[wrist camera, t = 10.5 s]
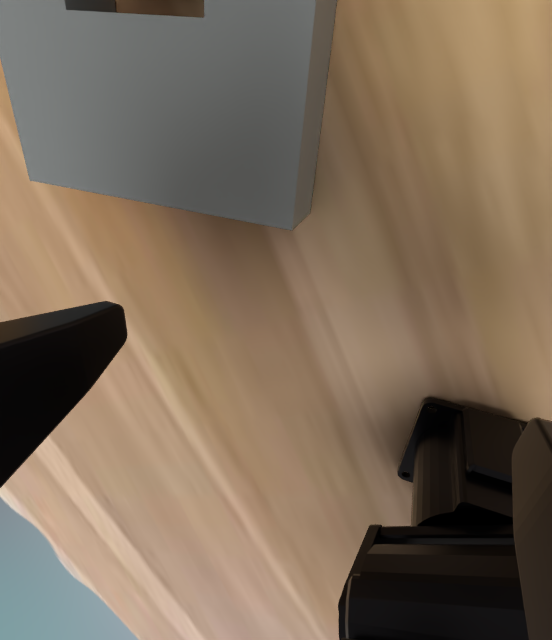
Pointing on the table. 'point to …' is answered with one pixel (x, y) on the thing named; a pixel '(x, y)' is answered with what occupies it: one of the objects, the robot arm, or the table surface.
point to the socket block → (173, 102)
